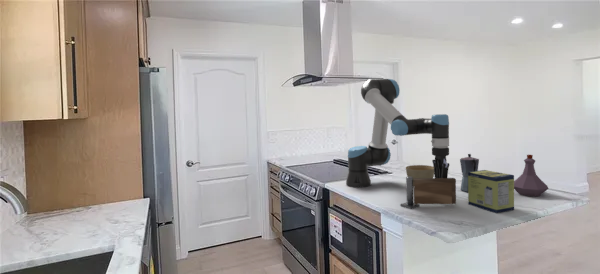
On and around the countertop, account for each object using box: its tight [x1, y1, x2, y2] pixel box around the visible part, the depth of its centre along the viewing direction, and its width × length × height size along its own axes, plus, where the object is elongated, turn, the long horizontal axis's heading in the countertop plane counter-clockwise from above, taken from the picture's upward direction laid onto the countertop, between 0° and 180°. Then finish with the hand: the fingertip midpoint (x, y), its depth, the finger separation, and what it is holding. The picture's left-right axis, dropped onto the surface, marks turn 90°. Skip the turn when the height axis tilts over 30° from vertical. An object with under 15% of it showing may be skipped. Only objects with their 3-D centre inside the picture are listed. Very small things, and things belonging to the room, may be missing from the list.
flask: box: [514, 154, 549, 198], centre depth 166 cm, size 16×16×20 cm
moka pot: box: [459, 153, 480, 193], centre depth 176 cm, size 10×15×20 cm, turn 174°
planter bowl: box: [405, 164, 435, 187], centre depth 194 cm, size 16×16×11 cm
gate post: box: [400, 176, 421, 210], centre depth 154 cm, size 6×6×14 cm
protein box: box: [467, 169, 515, 214], centre depth 148 cm, size 10×16×16 cm
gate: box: [413, 177, 457, 205], centre depth 153 cm, size 3×18×12 cm, turn 81°
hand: (440, 195), depth 158 cm, fingers closed
